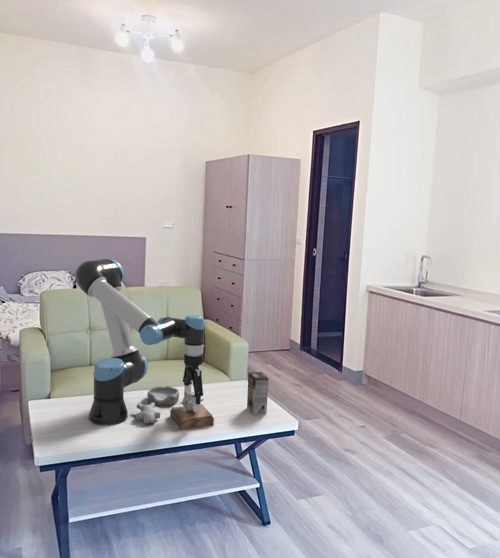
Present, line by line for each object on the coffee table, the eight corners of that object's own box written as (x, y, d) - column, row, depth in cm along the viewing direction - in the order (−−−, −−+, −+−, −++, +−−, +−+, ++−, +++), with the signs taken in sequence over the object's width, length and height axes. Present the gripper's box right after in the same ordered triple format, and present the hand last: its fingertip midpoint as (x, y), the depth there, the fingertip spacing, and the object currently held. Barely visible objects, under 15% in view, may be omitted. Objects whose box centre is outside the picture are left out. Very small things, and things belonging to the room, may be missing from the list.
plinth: (179, 429, 210) (180, 419, 209) (170, 416, 223) (170, 407, 222) (213, 425, 216) (214, 415, 215) (202, 412, 228) (202, 403, 228)
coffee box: (246, 407, 236) (247, 372, 234) (260, 406, 238) (261, 371, 236) (252, 415, 228) (254, 378, 226) (267, 414, 230) (268, 377, 228)
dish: (180, 406, 235) (180, 395, 235) (148, 407, 232) (148, 396, 231) (176, 394, 249) (177, 384, 249) (146, 396, 246) (146, 385, 245)
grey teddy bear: (137, 417, 211) (134, 399, 225) (137, 428, 212) (134, 410, 226) (162, 415, 214) (157, 397, 228) (161, 426, 215) (156, 408, 229)
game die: (186, 420, 218) (171, 401, 217) (197, 407, 225) (183, 388, 224) (200, 415, 213) (185, 395, 212) (211, 402, 220) (196, 382, 218)
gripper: (212, 361, 206) (210, 415, 209) (193, 345, 228) (191, 395, 231) (193, 363, 203) (192, 418, 206) (176, 347, 225) (174, 396, 228)
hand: (192, 406), depth 218 cm, fingers open, 12 cm apart
